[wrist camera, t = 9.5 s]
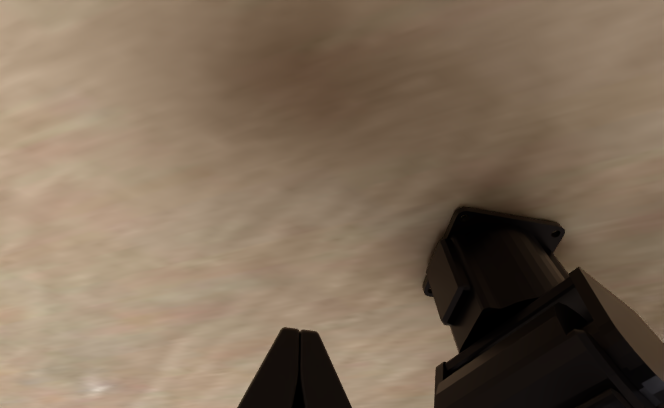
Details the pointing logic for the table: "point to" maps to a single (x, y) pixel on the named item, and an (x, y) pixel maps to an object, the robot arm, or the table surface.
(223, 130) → the table surface
